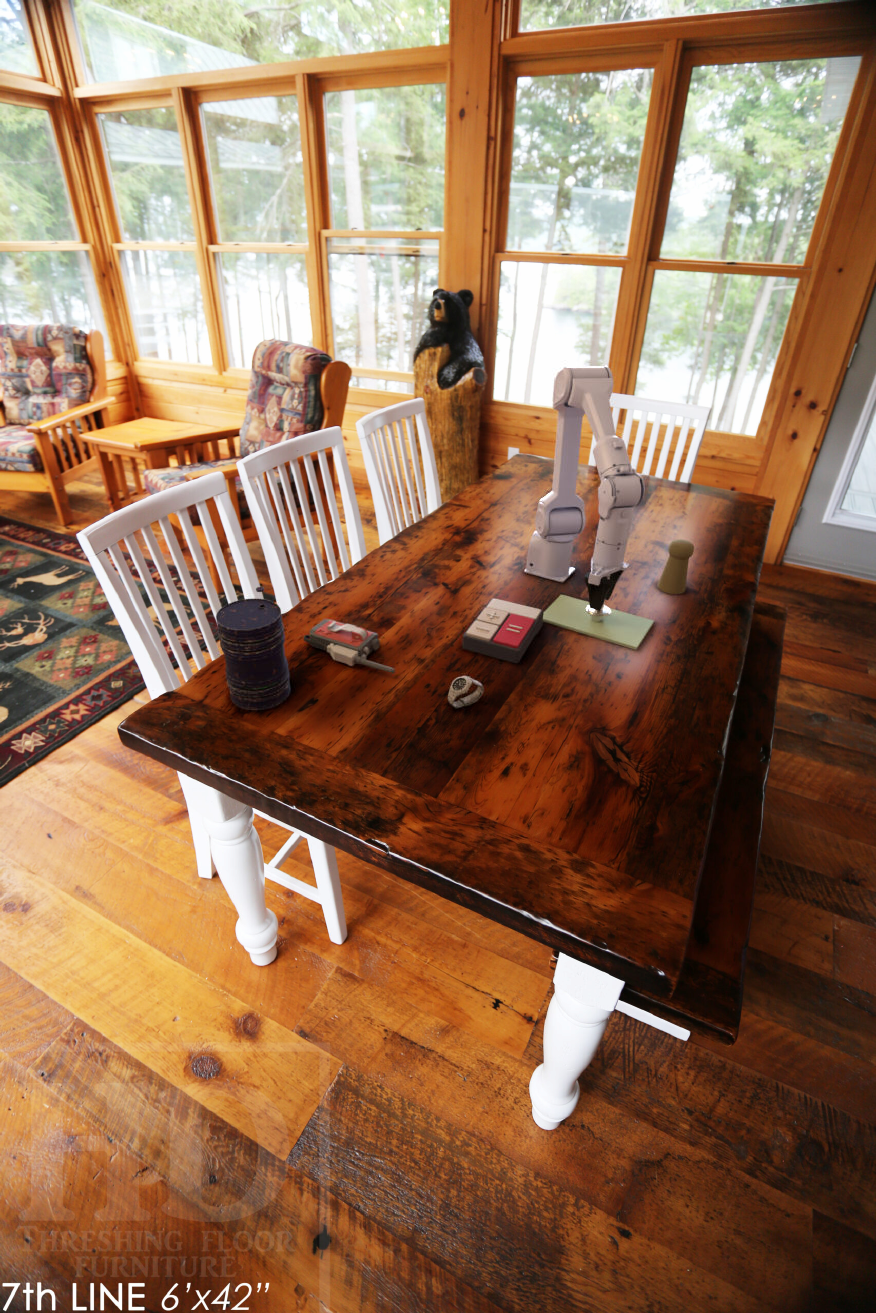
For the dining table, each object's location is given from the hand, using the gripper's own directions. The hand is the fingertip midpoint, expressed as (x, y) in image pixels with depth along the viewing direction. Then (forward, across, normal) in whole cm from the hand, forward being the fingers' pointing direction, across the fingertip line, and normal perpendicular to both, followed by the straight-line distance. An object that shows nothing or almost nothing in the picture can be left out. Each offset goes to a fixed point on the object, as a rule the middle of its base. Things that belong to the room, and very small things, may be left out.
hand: (599, 603), depth 127 cm
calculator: (+4, -16, +13) cm, 21 cm away
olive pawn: (+4, +24, -9) cm, 26 cm away
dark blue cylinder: (+4, -54, +39) cm, 67 cm away
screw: (+4, 0, 0) cm, 4 cm away
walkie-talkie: (+4, -36, +33) cm, 49 cm away
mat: (+4, 0, 0) cm, 4 cm away
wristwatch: (+4, -38, +9) cm, 39 cm away
